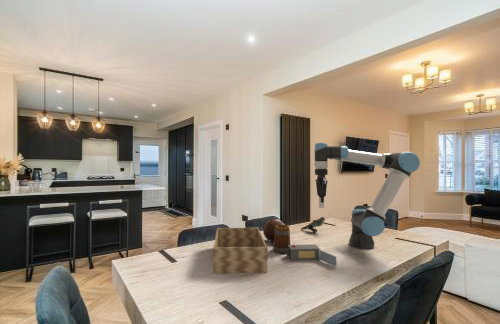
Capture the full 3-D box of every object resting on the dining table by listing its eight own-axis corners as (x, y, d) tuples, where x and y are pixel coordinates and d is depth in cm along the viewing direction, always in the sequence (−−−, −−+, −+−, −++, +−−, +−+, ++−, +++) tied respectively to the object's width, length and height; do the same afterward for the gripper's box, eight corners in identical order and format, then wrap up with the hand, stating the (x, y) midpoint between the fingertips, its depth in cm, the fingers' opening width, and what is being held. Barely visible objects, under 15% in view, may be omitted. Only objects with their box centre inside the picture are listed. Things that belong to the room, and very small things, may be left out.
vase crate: (257, 246, 165) (258, 227, 165) (267, 272, 125) (267, 247, 125) (216, 247, 163) (217, 228, 163) (213, 273, 123) (213, 248, 123)
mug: (290, 254, 150) (290, 228, 150) (272, 253, 152) (272, 227, 153) (291, 246, 166) (291, 222, 166) (275, 245, 168) (275, 221, 168)
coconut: (290, 242, 174) (290, 220, 174) (272, 246, 165) (272, 222, 166) (275, 237, 186) (275, 216, 186) (258, 240, 178) (258, 218, 178)
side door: (318, 260, 142) (318, 248, 142) (319, 259, 143) (319, 248, 143) (334, 267, 131) (334, 255, 131) (336, 267, 132) (336, 255, 132)
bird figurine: (296, 230, 205) (309, 209, 199) (303, 228, 213) (315, 208, 206) (310, 241, 197) (323, 221, 191) (316, 239, 205) (329, 219, 199)
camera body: (315, 254, 150) (315, 242, 150) (320, 259, 142) (320, 247, 142) (285, 255, 149) (285, 243, 149) (289, 260, 141) (289, 247, 141)
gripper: (311, 168, 164) (311, 206, 164) (319, 168, 151) (319, 209, 151) (322, 168, 165) (323, 205, 165) (331, 168, 152) (332, 209, 152)
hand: (321, 207), depth 158 cm, fingers closed
